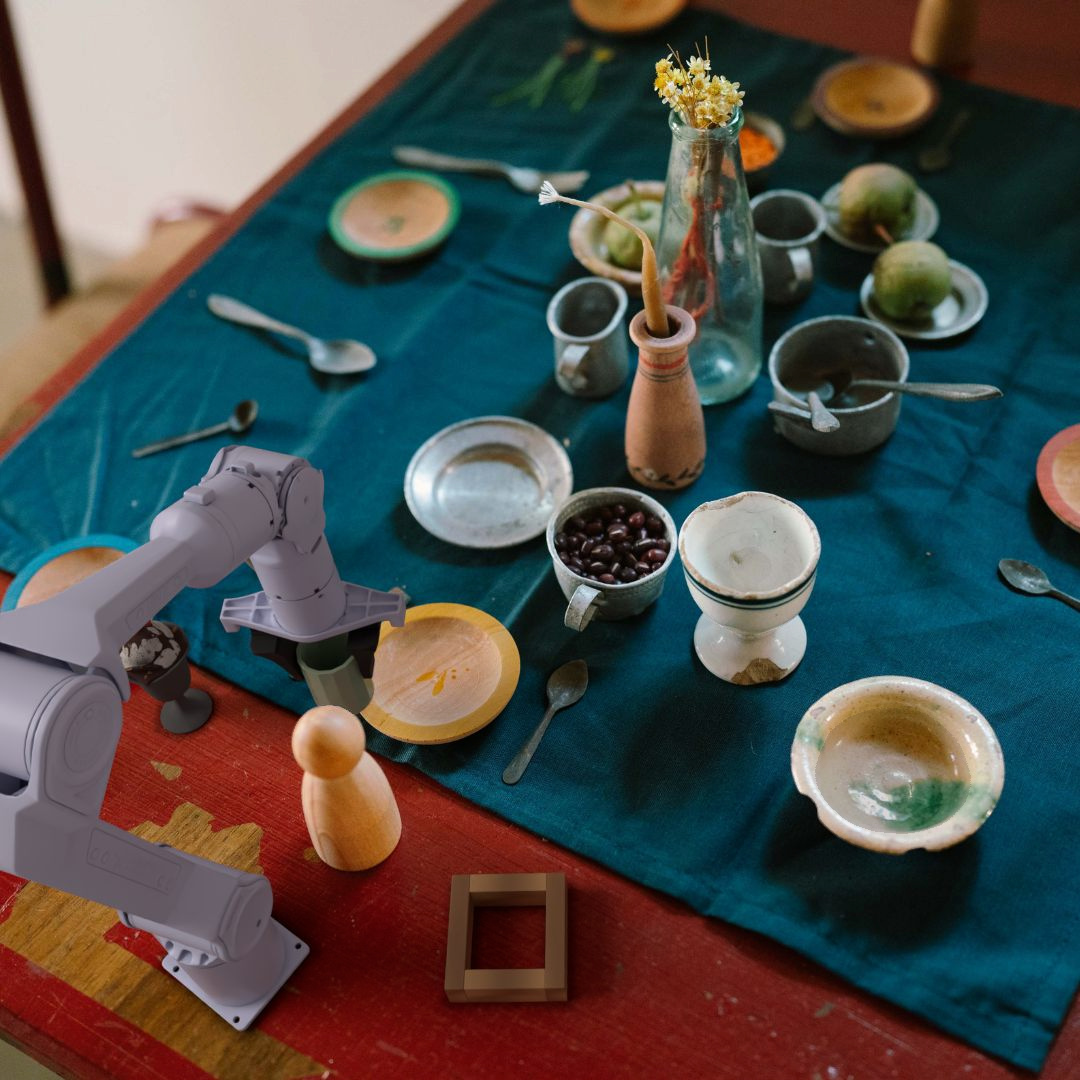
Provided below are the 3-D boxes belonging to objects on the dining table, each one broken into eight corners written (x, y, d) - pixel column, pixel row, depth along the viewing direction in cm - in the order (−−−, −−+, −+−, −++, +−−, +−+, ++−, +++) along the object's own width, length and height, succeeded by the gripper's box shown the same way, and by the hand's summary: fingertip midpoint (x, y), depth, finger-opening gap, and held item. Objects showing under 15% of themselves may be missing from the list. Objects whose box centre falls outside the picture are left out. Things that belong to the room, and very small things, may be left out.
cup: (303, 700, 102) (283, 655, 97) (343, 658, 105) (326, 612, 99) (346, 729, 100) (328, 684, 95) (387, 685, 102) (371, 639, 97)
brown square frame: (449, 1002, 91) (444, 989, 89) (457, 889, 97) (451, 874, 95) (567, 1001, 90) (564, 988, 88) (567, 887, 96) (565, 872, 94)
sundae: (190, 669, 114) (137, 575, 102) (235, 705, 110) (185, 611, 99) (137, 717, 111) (75, 624, 99) (181, 754, 108) (123, 663, 96)
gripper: (396, 528, 91) (424, 628, 101) (215, 534, 92) (261, 633, 103) (386, 600, 86) (417, 698, 97) (196, 606, 88) (246, 702, 98)
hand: (336, 669), depth 99 cm, fingers closed on cup, 5 cm apart
